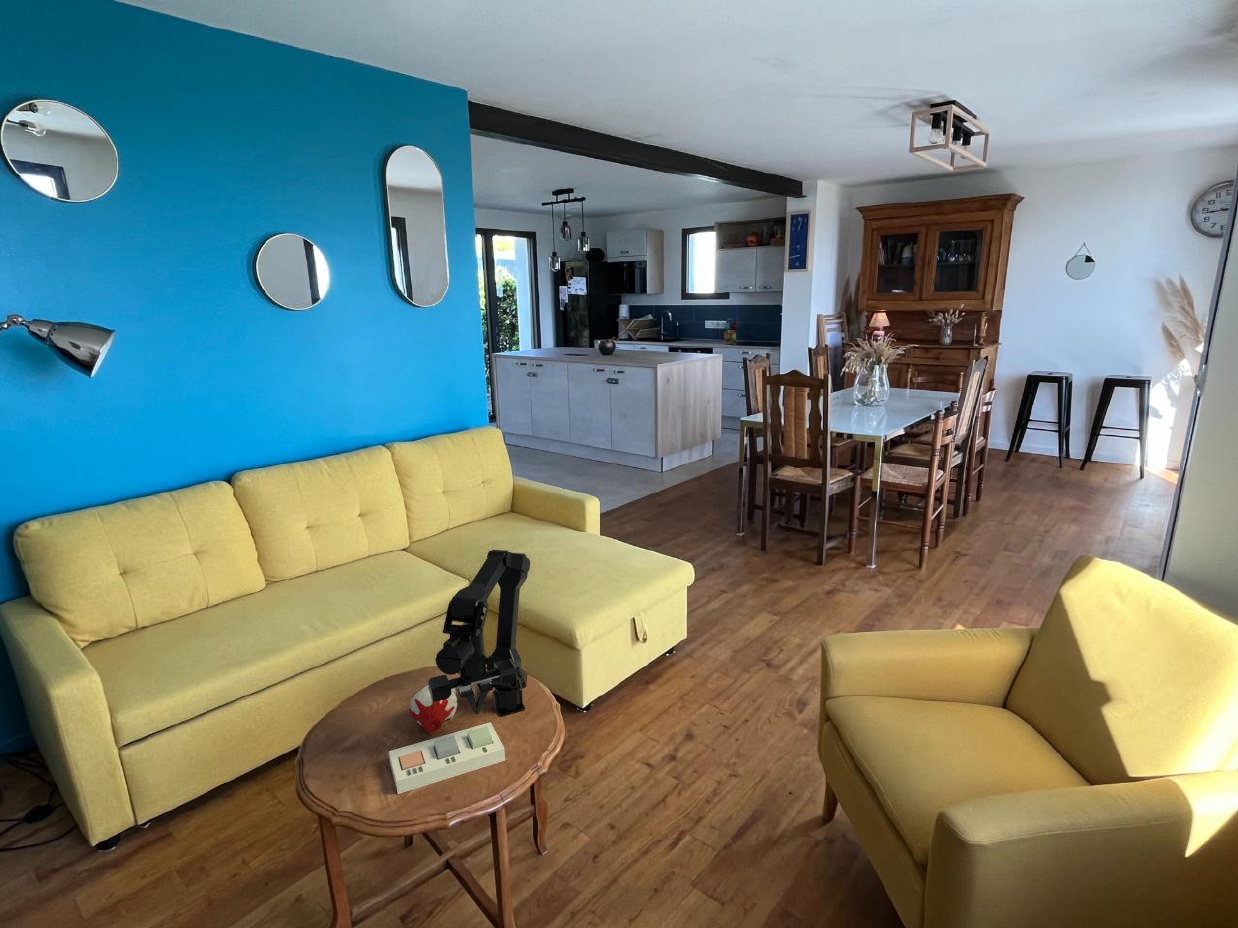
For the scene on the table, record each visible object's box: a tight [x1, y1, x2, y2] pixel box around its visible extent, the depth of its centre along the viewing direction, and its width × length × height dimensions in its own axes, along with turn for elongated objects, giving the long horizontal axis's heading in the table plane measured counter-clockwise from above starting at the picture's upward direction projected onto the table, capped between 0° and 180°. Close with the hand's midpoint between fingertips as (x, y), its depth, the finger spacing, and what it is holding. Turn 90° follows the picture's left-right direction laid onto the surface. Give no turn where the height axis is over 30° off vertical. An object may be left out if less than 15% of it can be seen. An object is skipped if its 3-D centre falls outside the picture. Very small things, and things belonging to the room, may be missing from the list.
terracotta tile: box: [399, 751, 424, 771], centre depth 148 cm, size 4×4×2 cm
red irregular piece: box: [409, 685, 458, 734], centre depth 165 cm, size 9×11×15 cm
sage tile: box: [468, 726, 492, 750], centre depth 154 cm, size 4×4×2 cm
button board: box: [388, 722, 506, 795], centre depth 151 cm, size 23×11×3 cm, turn 116°
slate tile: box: [434, 736, 459, 760], centre depth 151 cm, size 4×4×2 cm
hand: (476, 713), depth 153 cm, fingers closed
